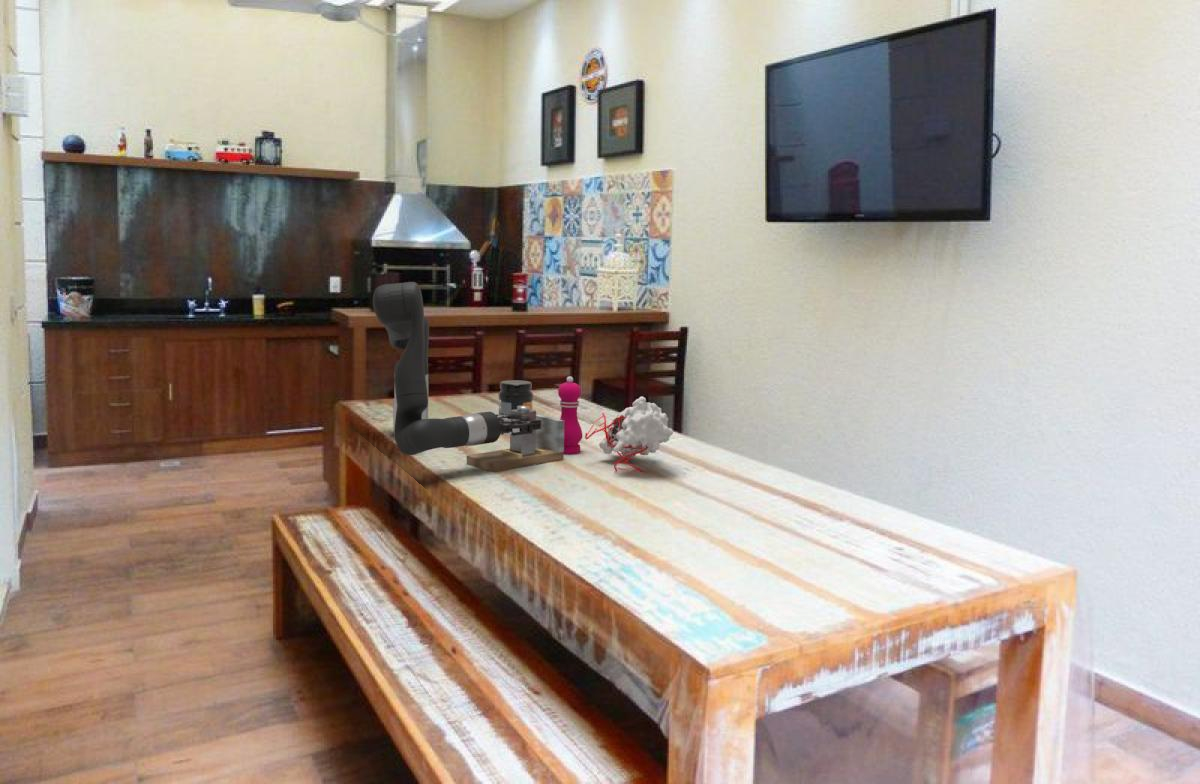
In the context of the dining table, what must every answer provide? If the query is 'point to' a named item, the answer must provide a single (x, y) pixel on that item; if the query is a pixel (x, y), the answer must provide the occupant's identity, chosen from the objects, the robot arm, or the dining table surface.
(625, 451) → the lumpy white molecule
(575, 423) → the pepper mill
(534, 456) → the wooden base metal fixture
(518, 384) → the supplement container
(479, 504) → the dining table surface
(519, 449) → the metal square bar
